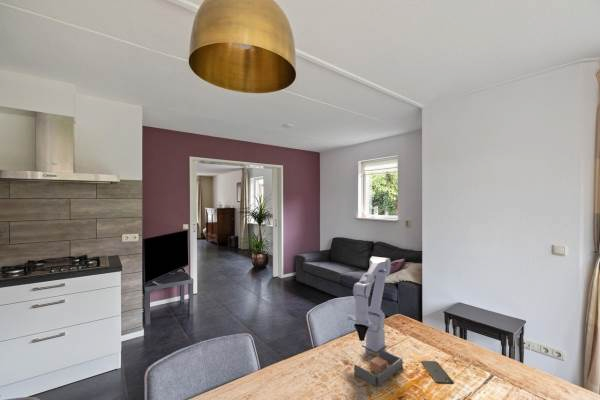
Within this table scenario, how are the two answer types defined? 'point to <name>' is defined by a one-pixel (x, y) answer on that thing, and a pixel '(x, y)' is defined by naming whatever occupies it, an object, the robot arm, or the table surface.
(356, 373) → the box
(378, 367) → the terracotta block
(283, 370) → the table surface
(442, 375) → the smartphone
